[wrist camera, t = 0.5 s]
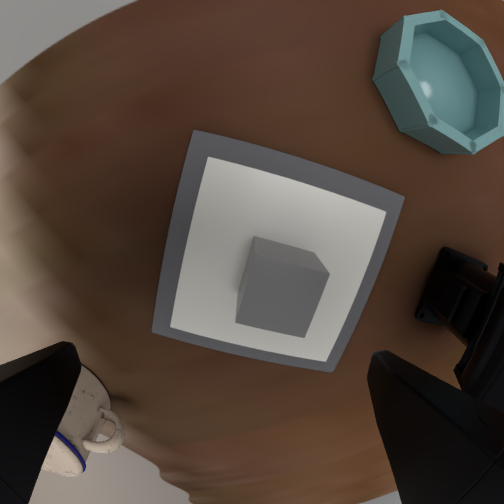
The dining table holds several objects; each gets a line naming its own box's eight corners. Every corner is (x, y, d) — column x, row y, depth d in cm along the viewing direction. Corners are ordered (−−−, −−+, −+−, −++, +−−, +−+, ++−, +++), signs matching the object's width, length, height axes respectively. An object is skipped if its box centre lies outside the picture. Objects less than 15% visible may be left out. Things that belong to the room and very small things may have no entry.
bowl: (479, 69, 16) (507, 61, 12) (466, 169, 18) (498, 172, 14) (384, 10, 15) (406, -12, 11) (362, 115, 17) (387, 105, 14)
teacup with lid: (58, 408, 25) (17, 475, 14) (31, 345, 23) (-31, 412, 11) (148, 428, 25) (120, 517, 14) (128, 363, 23) (75, 464, 12)
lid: (381, 210, 19) (416, 223, 14) (323, 355, 22) (337, 395, 17) (209, 157, 18) (196, 153, 13) (172, 321, 21) (155, 359, 16)
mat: (401, 196, 19) (404, 196, 18) (331, 368, 23) (332, 372, 22) (195, 130, 18) (193, 129, 17) (153, 328, 22) (151, 332, 21)
